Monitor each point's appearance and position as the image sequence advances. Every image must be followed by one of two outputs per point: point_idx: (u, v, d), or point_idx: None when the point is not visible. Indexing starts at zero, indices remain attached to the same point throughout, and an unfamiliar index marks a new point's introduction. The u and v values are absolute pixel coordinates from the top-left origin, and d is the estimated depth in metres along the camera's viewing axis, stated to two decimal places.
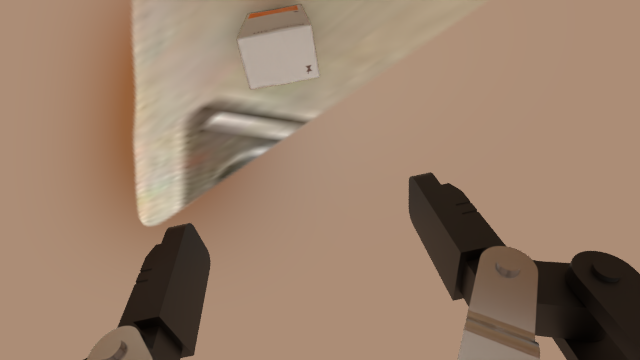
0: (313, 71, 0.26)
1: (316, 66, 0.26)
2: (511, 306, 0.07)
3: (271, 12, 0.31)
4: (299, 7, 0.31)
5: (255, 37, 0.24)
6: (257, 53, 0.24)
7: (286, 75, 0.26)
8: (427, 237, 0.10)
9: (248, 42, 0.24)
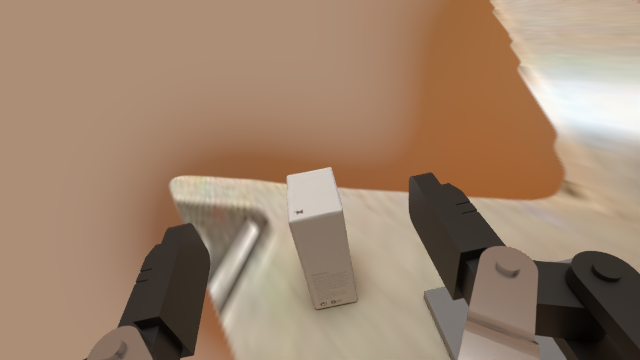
0: (295, 215, 0.23)
1: (300, 218, 0.23)
2: (510, 305, 0.07)
3: None
4: (354, 284, 0.29)
5: (331, 176, 0.26)
6: (318, 177, 0.26)
7: (295, 196, 0.25)
8: (427, 237, 0.10)
9: (328, 172, 0.27)
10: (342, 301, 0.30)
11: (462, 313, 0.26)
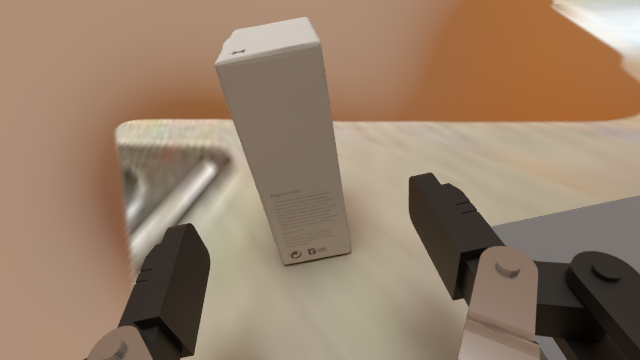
0: (230, 55, 0.12)
1: (238, 56, 0.12)
2: (511, 306, 0.07)
3: None
4: (346, 220, 0.17)
5: (307, 21, 0.15)
6: (283, 24, 0.15)
7: (238, 41, 0.14)
8: (427, 237, 0.10)
9: (301, 19, 0.16)
10: (326, 251, 0.18)
11: None
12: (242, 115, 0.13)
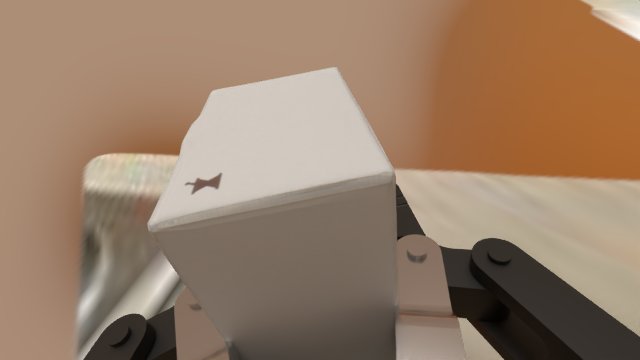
0: (186, 197, 0.05)
1: (202, 207, 0.05)
2: (427, 288, 0.07)
3: None
4: None
5: (341, 82, 0.08)
6: (298, 87, 0.08)
7: (213, 134, 0.07)
8: None
9: (328, 76, 0.09)
10: None
11: None
12: (219, 300, 0.06)
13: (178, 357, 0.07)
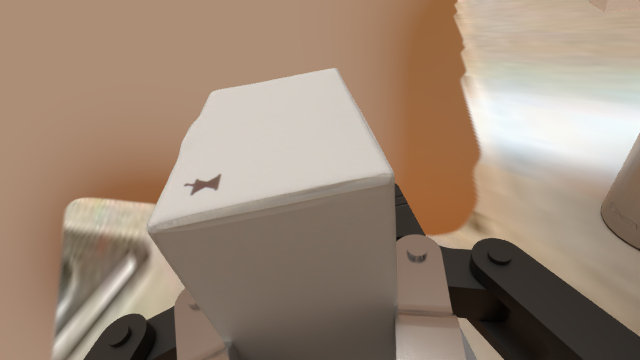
0: (185, 198, 0.05)
1: (201, 208, 0.05)
2: (427, 287, 0.07)
3: None
4: None
5: (340, 83, 0.08)
6: (297, 88, 0.08)
7: (212, 135, 0.07)
8: None
9: (328, 76, 0.09)
10: None
11: None
12: (218, 301, 0.06)
13: (178, 357, 0.07)
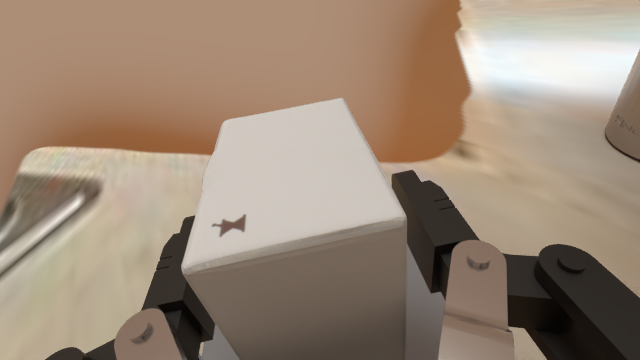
0: (215, 240, 0.06)
1: (232, 251, 0.05)
2: (484, 297, 0.07)
3: None
4: None
5: (348, 115, 0.09)
6: (308, 120, 0.09)
7: (231, 170, 0.08)
8: (408, 233, 0.11)
9: (336, 108, 0.09)
10: None
11: None
12: (241, 330, 0.07)
13: None
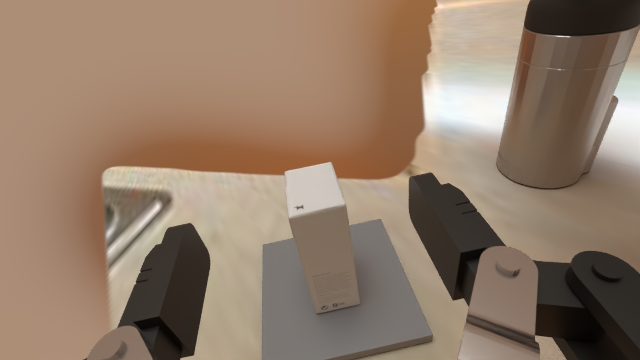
0: (296, 211, 0.22)
1: (301, 213, 0.22)
2: (511, 306, 0.07)
3: None
4: (357, 285, 0.27)
5: (332, 171, 0.25)
6: (318, 172, 0.25)
7: (294, 191, 0.24)
8: (427, 237, 0.10)
9: (328, 167, 0.26)
10: (344, 304, 0.28)
11: (282, 258, 0.34)
12: (300, 239, 0.23)
13: None
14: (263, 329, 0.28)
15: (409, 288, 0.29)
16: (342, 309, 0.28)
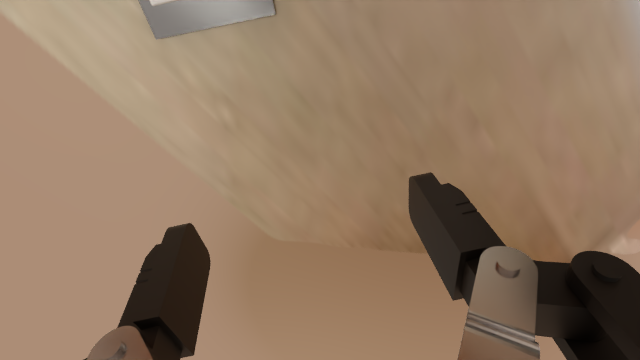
0: None
1: (162, 1, 0.24)
2: (511, 306, 0.07)
3: None
4: None
5: None
6: None
7: None
8: (427, 237, 0.11)
9: None
10: None
11: None
12: None
13: None
14: (140, 2, 0.34)
15: None
16: None
